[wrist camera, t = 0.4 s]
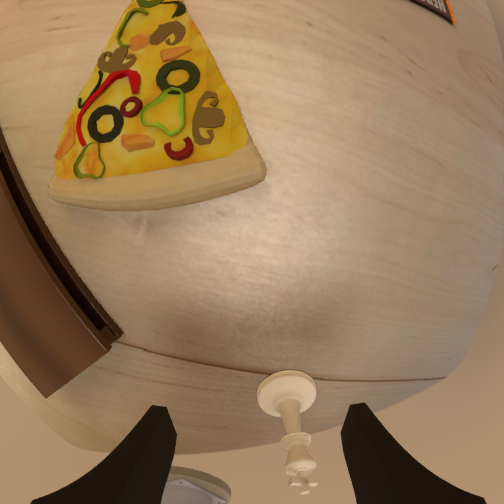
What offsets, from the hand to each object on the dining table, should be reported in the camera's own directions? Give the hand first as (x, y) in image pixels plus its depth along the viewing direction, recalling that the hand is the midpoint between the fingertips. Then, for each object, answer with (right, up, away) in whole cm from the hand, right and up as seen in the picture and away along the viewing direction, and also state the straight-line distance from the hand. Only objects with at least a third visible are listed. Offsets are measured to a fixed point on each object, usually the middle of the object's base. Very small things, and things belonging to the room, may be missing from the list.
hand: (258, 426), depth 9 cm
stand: (-27, +13, +7) cm, 31 cm away
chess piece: (+3, -5, +12) cm, 13 cm away
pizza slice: (-7, +20, +6) cm, 22 cm away
